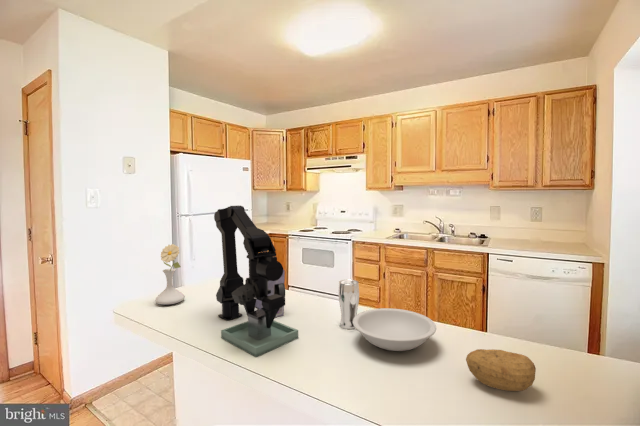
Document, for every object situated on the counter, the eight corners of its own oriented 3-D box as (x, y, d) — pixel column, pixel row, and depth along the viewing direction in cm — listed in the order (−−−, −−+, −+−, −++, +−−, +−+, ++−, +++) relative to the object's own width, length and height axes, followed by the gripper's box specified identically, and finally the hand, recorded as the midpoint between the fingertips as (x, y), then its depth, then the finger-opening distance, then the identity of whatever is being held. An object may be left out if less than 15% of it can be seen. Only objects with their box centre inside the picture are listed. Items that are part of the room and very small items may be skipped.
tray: (221, 338, 100) (221, 330, 100) (262, 322, 112) (262, 315, 112) (256, 357, 88) (255, 348, 88) (298, 338, 100) (298, 330, 100)
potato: (464, 370, 81) (465, 338, 81) (530, 381, 76) (531, 348, 75) (466, 391, 72) (467, 357, 72) (540, 407, 67) (542, 369, 66)
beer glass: (358, 330, 105) (358, 285, 104) (337, 329, 107) (337, 284, 106) (360, 322, 112) (360, 279, 111) (340, 320, 113) (339, 278, 113)
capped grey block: (247, 335, 100) (247, 313, 100) (261, 330, 104) (260, 308, 103) (257, 340, 97) (257, 317, 96) (271, 335, 100) (271, 312, 100)
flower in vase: (149, 303, 133) (147, 244, 132) (175, 296, 143) (173, 240, 141) (167, 310, 126) (164, 246, 125) (193, 301, 135) (191, 242, 134)
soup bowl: (382, 321, 113) (382, 303, 112) (450, 343, 96) (450, 321, 95) (336, 344, 96) (336, 322, 95) (408, 375, 79) (408, 349, 78)
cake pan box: (286, 316, 118) (286, 268, 118) (274, 319, 115) (274, 270, 114) (262, 302, 134) (261, 260, 133) (251, 305, 131) (250, 262, 130)
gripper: (218, 274, 100) (220, 323, 100) (255, 285, 87) (256, 341, 88) (248, 268, 108) (249, 313, 109) (286, 277, 95) (286, 329, 96)
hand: (259, 323), depth 100 cm, fingers open, 9 cm apart
